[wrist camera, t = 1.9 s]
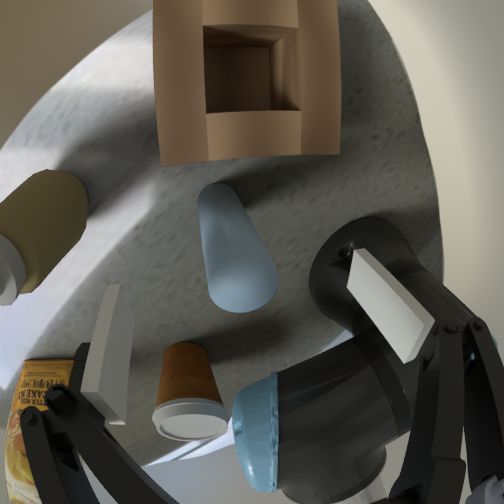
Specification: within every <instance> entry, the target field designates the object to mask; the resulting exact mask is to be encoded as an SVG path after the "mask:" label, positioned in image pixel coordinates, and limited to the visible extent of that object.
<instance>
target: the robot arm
mask: <svg viewBox="0 0 504 504" xmlns="http://www.w3.org/2000/svg"><path fill="white" fill-rule="evenodd" d="M309 289H310V293H311V296H312V298H313V300H314V301H315V303H316V304H317V306H318V308H319V309H320V310H321V312H322V313H323V314H324V315H326V316H327V317H329V318H330V319H332V320H334V321H336V322H337V323H338V324H339V325H341V326H342V327H343V328H345V329H346V330H348V331H349V332H350V333H352V335H353V336H354V337H353V338H351V339H349V340H347V341H345V342H343V343H341V344H339V345H337V346H335V347H333V348H331V349H329V350H327V351H324V352H322V353H320V354H318V355H316V356H314V357H312V358H310V359H307V360H305V361H303V362H301V363H298V364H296V365H294V366H292V367H289V368H287V369H285V370H282V371H280V372H276V371H275V372H273V373H271V375H270V376H268V377H266V378H264V379H262V380H259V381H257V382H255V383H253V384H250V385H248V386H246V387H244V388H243V389H241V390H240V391H239V393H238V394H237V396H236V398H235V400H234V404H233V410H232V425H233V433H234V440H235V445H236V450H237V454H238V457H239V460H240V463H241V466H242V469H243V471H244V473H245V476H246V477H247V479H248V481H249V483H250V484H251V485H252V487H253V488H254V489H255V490H257V491H259V492H271V493H273V492H275V491H276V490H278V489H282V491H283V492H284V494H285V495H286V496H287V497H288V499H289V500H291V501H292V502H293V503H296V504H459V502H460V497H461V493H462V488H463V483H464V478H465V472H466V463H465V461H464V460H462V459H461V458H460V453H461V443H462V434H463V426H464V433H465V442H466V450H467V465H468V476H469V483H470V488H471V492H472V494H471V495H470V496H469V497H468V498H467V499H466V503H465V504H504V366H503V364H502V361H501V358H500V356H499V353H498V350H497V349H498V348H497V342H496V340H495V338H494V337H493V336H492V335H491V334H490V331H489V329H488V327H487V325H486V323H485V322H484V321H483V320H482V319H481V318H480V317H477V316H476V315H475V314H474V313H473V312H472V311H471V310H470V309H469V308H468V307H467V306H466V305H465V304H464V303H462V302H461V301H460V300H459V299H458V298H457V297H456V296H455V295H454V294H453V293H452V292H451V291H450V290H449V289H447V288H446V287H445V286H444V285H443V284H442V283H441V282H440V281H439V280H437V279H436V278H435V277H434V276H433V275H432V274H431V273H430V272H428V271H427V270H426V269H425V268H424V267H423V266H422V265H421V264H420V262H419V261H418V259H417V257H416V255H415V254H414V252H413V250H412V249H411V247H410V246H409V243H408V241H407V239H406V237H405V236H404V234H403V233H402V232H401V231H400V230H399V229H398V228H396V227H395V226H394V225H392V224H391V223H389V222H388V221H386V220H384V219H381V218H376V217H368V218H362V219H359V220H356V221H353V222H351V223H349V224H347V225H345V226H344V227H342V228H341V229H339V230H338V231H337V232H336V233H334V234H333V235H332V236H331V237H330V238H329V239H328V240H327V241H326V243H325V244H324V245H323V246H322V248H321V249H320V251H319V252H318V254H317V256H316V258H315V260H314V262H313V264H312V267H311V271H310V276H309ZM134 324H135V321H134V318H133V316H132V313H131V311H130V308H129V305H128V303H127V300H126V297H125V295H124V292H123V289H122V286H121V284H114V285H108V286H107V289H106V292H105V295H104V299H103V302H102V305H101V308H100V312H99V315H98V318H97V322H96V326H95V329H94V333H93V337H92V341H91V343H82V344H81V345H80V346H79V348H78V349H77V351H76V354H75V358H74V362H73V365H72V369H71V373H70V378H69V382H68V387H67V386H66V385H64V384H55V385H53V386H51V387H50V388H49V389H48V390H47V391H46V393H45V396H44V402H45V406H46V407H47V408H48V410H44V411H40V410H39V409H38V408H37V407H35V406H28V407H26V408H24V410H23V411H22V412H21V415H20V426H21V432H22V437H23V442H24V446H25V451H26V455H27V459H28V462H29V466H30V470H31V473H32V476H33V480H34V483H35V486H36V489H37V492H38V494H39V497H40V500H41V502H42V504H100V503H99V501H98V499H97V497H96V495H95V493H94V491H93V489H92V487H91V485H90V483H89V481H88V478H87V476H86V474H85V471H84V469H83V467H82V464H81V462H80V459H79V457H78V454H77V452H76V450H77V451H78V453H79V454H80V456H81V457H82V459H83V460H84V461H85V463H86V464H87V465H88V467H89V468H90V470H91V471H92V472H93V474H94V475H95V476H96V478H97V479H98V480H99V481H100V483H101V484H102V485H103V486H104V488H105V489H106V490H107V491H108V493H109V494H110V495H111V496H112V497H113V498H114V499H115V501H116V502H117V503H118V504H179V503H178V502H177V501H176V500H175V499H174V498H172V497H171V496H170V495H169V494H168V493H167V492H165V491H164V490H163V489H162V488H161V487H160V486H159V485H158V484H157V483H156V482H155V481H154V480H153V479H152V478H151V477H149V475H148V474H147V473H145V471H143V469H142V468H141V467H140V466H139V465H138V464H137V463H136V462H135V461H134V460H133V459H132V458H131V457H130V456H129V454H128V453H127V452H126V451H125V450H124V449H123V448H122V446H121V445H120V444H119V443H118V442H117V441H116V439H115V438H114V437H113V436H112V435H111V433H110V432H109V431H108V430H107V428H106V427H105V426H104V424H105V419H106V420H107V421H108V422H109V423H110V424H126V407H127V390H128V377H129V366H130V356H131V347H132V339H133V331H134ZM409 431H411V432H410V436H409V441H408V445H407V450H406V454H405V458H404V462H403V465H402V469H401V472H400V475H399V477H398V479H397V480H396V482H395V483H394V485H393V486H392V488H391V491H390V494H389V497H387V494H386V491H385V488H384V486H383V483H382V480H381V477H380V475H381V473H382V471H383V469H384V467H385V464H386V460H387V453H386V449H385V445H387V444H389V443H390V442H392V441H394V440H396V439H397V438H399V437H400V436H402V435H404V434H405V433H407V432H409ZM75 448H76V449H75Z"/></svg>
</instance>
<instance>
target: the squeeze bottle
mask: <svg viewBox="0 0 504 504" xmlns="http://www.w3.org/2000/svg"><path fill="white" fill-rule="evenodd" d="M87 209H88V195H87V191H86V188H85V186H84V185H83V183H82V182H81V180H80V179H79V178H77V177H76V176H74V175H73V174H71V173H66V172H61V171H55V170H48V169H46V170H43V171H40V172H38V173H35V174H33V175H32V176H31V177H29V178H28V179H27V180H26V181H25V182H23V183H22V184H21V185H20V186H19V187H18V188H16V189H15V190H14V191H13V192H12V193H11V194H10V195H9V196H8V197H7V198H5V199H4V200H3V201H2V202H1V203H0V305H1V306H6V305H11V304H12V303H13V302H14V301H15V300H16V299H17V297H18V295H19V294H25V293H31V292H33V291H34V290H35V289H36V288H37V287H38V286H39V285H40V284H41V283H42V282H43V280H44V279H45V278H46V277H47V276H48V275H49V273H50V272H51V271H52V270H53V269H54V268H55V266H56V265H57V264H58V263H59V262H60V261H61V260H62V259H63V257H64V256H65V255H66V254H67V253H68V252H69V251H70V250H71V249H72V248H73V247H74V246H75V245H76V243H77V242H78V241H79V240H80V239H81V236H82V234H83V232H84V230H85V228H86V222H87Z"/></svg>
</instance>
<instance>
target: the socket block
mask: <svg viewBox="0 0 504 504" xmlns="http://www.w3.org/2000/svg"><path fill="white" fill-rule="evenodd" d="M153 71H154V91H155V107H156V119H157V131H158V141H159V150H160V159H161V167H165V166H172V165H179V164H187V163H195V162H204V161H213V160H223V159H234V158H247V157H262V156H283V155H340V136H341V58H340V38H339V23H338V11H337V1H335V0H153Z"/></svg>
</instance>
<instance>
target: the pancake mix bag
mask: <svg viewBox="0 0 504 504" xmlns="http://www.w3.org/2000/svg"><path fill="white" fill-rule="evenodd" d="M73 362H74V360H69V359H51V360H25V362H24V367H22V370H21V374H20V378H19V381H18V383H17V386H16V390H15V394H14V397H13V402H12V407H11V411H10V415H9V419H8V425H7V430H6V438H5V447H4V468H5V477H6V488H7V494H8V501H10V502H12V504H42V502H41V500H40V497H39V494H38V492H37V489H36V486H35V483H34V480H33V476H32V473H31V470H30V466H29V462H28V459H27V455H26V451H25V446H24V442H23V437H22V432H21V426H20V415H21V412H22V411H23V410H24V408H26V407H28V406H35V407H37V408H38V409H39V410H40V411H44V410H48V408H47V407H46V406H45V402H44V396H45V393H46V391H47V390H48V389H49V388H50V387H51V386H53V385H55V384H64V385H66V386H67V387H68V382H69V378H70V373H71V369H72V365H73ZM75 449H76V448H75ZM76 452H77V454H78V457H79V459H80V462H81V464H82V467H83V460H82V457H81V456H80V454H79V453H78V451H77V450H76Z"/></svg>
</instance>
